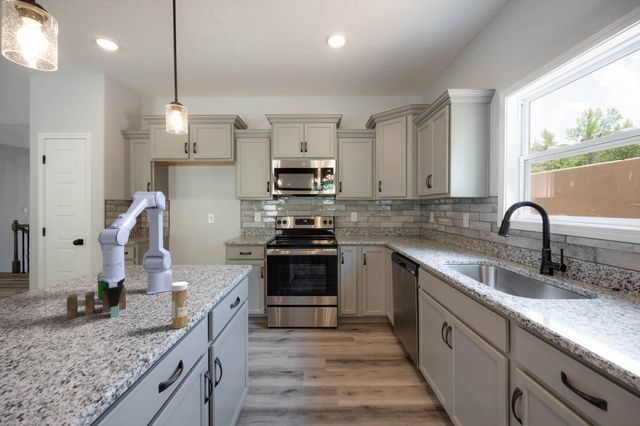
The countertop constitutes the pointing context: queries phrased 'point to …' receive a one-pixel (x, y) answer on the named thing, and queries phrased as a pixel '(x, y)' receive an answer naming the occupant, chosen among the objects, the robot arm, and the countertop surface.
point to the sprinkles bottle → (179, 304)
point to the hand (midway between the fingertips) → (114, 303)
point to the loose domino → (115, 311)
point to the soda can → (100, 286)
